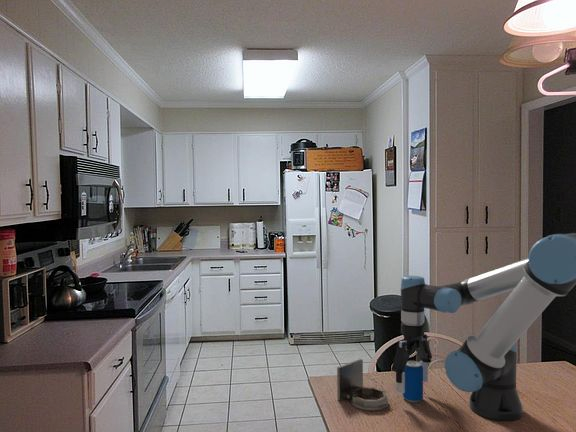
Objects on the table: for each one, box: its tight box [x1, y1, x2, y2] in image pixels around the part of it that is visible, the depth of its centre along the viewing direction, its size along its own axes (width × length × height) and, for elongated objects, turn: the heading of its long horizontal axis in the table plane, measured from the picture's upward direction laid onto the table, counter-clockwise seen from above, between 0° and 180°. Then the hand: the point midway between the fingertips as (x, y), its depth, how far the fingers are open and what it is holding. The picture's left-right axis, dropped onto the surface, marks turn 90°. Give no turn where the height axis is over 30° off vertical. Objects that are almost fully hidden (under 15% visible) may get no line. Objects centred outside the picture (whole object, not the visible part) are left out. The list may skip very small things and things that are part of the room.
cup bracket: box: [336, 358, 389, 412], centre depth 148 cm, size 14×12×11 cm
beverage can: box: [402, 360, 424, 403], centre depth 150 cm, size 6×6×12 cm
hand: (412, 386), depth 150 cm, fingers open, 13 cm apart
